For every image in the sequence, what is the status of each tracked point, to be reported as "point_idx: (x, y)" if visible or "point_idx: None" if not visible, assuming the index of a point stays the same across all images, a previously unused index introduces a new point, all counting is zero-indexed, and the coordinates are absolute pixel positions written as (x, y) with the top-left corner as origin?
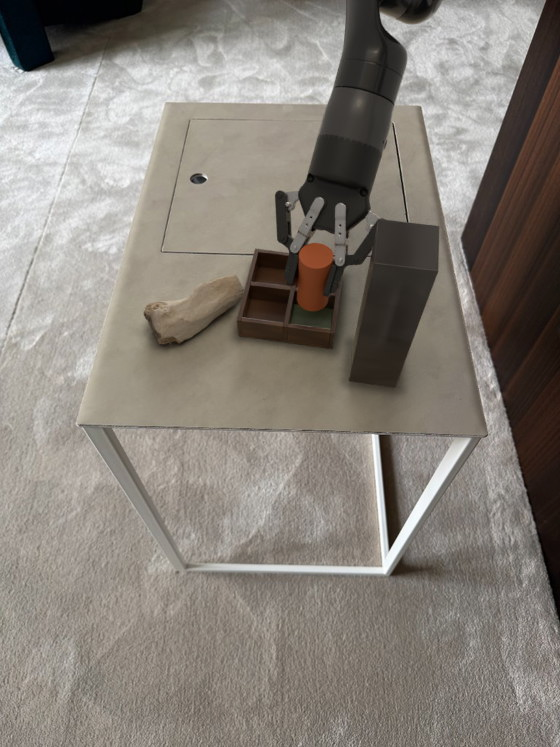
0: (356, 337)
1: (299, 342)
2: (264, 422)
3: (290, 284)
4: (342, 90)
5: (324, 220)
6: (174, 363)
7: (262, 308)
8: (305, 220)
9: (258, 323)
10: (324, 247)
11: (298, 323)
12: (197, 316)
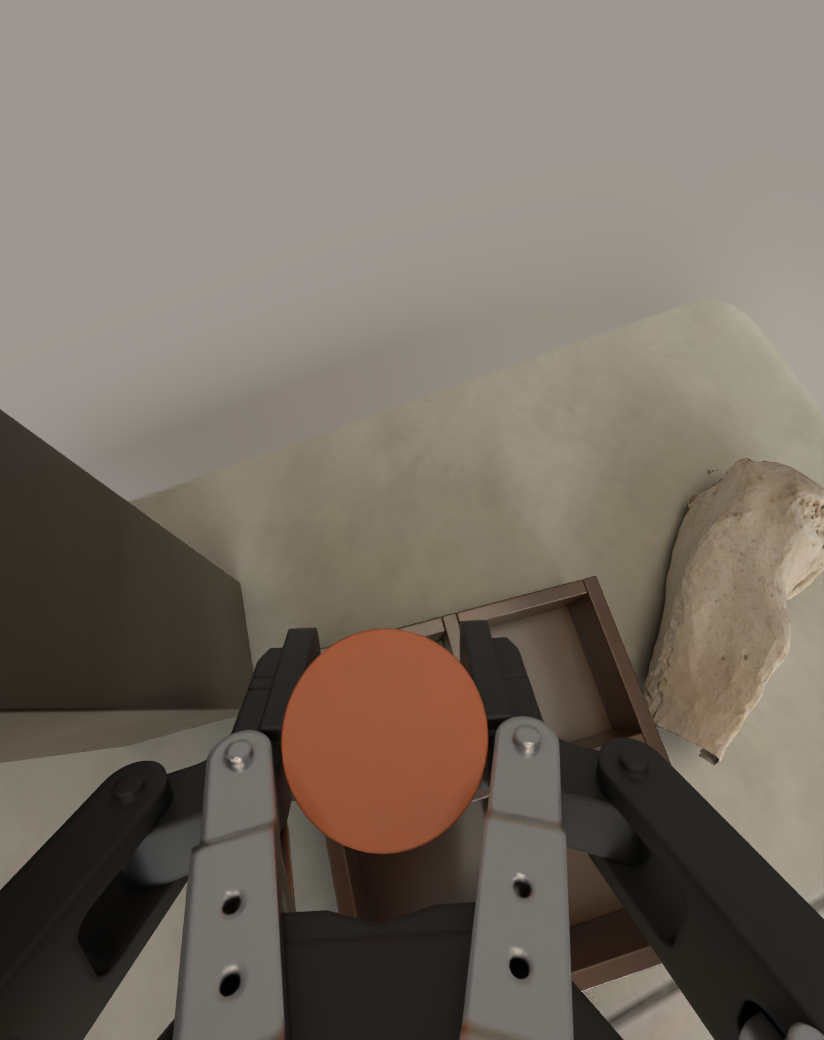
0: (186, 594)
1: None
2: (394, 410)
3: (467, 621)
4: None
5: (399, 1005)
6: (662, 458)
7: (560, 707)
8: (552, 919)
9: (530, 593)
10: (360, 825)
11: None
12: (707, 549)
